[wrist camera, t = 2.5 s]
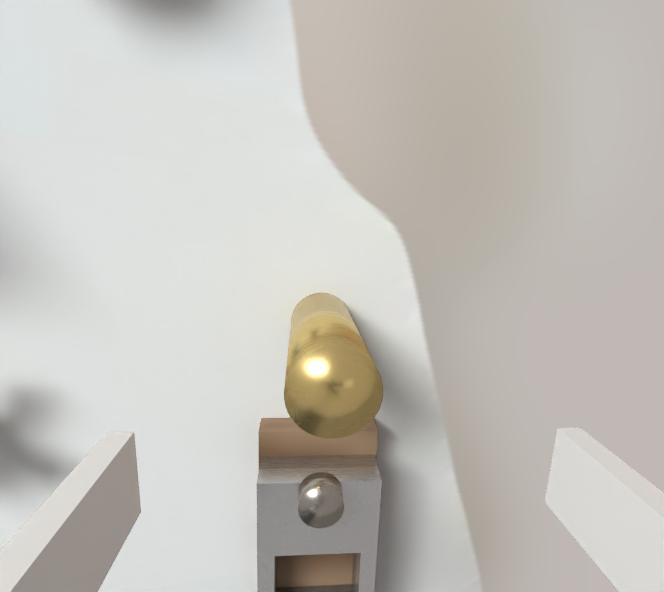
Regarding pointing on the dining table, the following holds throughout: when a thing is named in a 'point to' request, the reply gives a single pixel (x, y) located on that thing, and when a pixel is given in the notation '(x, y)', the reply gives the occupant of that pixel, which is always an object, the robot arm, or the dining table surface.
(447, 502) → the dining table surface
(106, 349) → the dining table surface
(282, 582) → the walnut board
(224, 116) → the dining table surface
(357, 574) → the grey slotted fixture
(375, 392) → the brass pin
